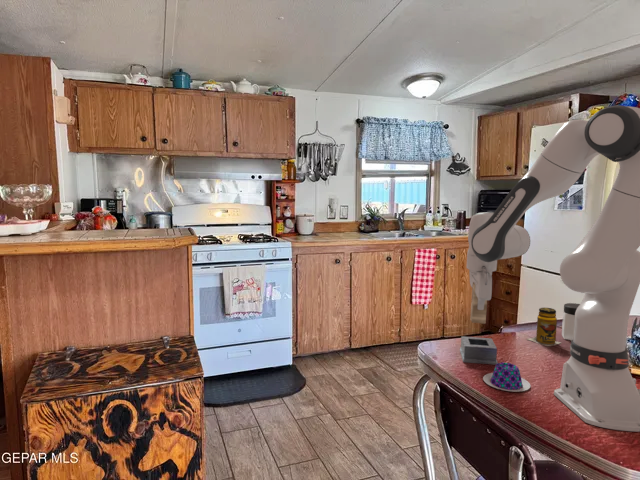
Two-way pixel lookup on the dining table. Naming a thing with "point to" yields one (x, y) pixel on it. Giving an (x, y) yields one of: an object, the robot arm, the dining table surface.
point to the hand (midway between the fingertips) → (478, 307)
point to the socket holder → (478, 350)
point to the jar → (569, 320)
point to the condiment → (546, 327)
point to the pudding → (506, 378)
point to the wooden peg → (476, 314)
